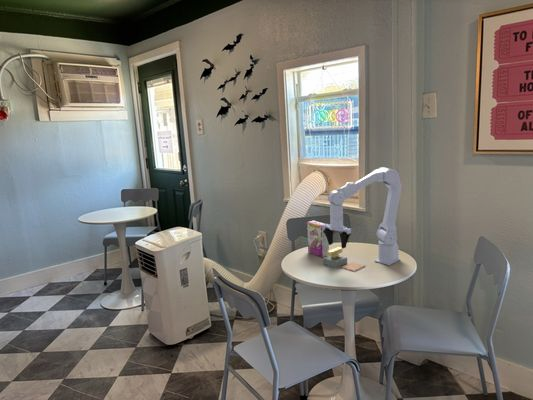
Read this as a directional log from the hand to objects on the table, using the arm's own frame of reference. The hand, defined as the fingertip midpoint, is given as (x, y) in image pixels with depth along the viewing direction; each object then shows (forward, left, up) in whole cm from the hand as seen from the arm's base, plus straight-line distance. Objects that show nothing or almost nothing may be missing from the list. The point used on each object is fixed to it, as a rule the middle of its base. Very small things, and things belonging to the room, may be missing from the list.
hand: (337, 246), depth 178 cm
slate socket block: (-2, -3, -10) cm, 11 cm away
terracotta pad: (-4, +6, -10) cm, 12 cm away
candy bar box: (-7, -18, -10) cm, 22 cm away
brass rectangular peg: (-2, -3, -10) cm, 11 cm away
